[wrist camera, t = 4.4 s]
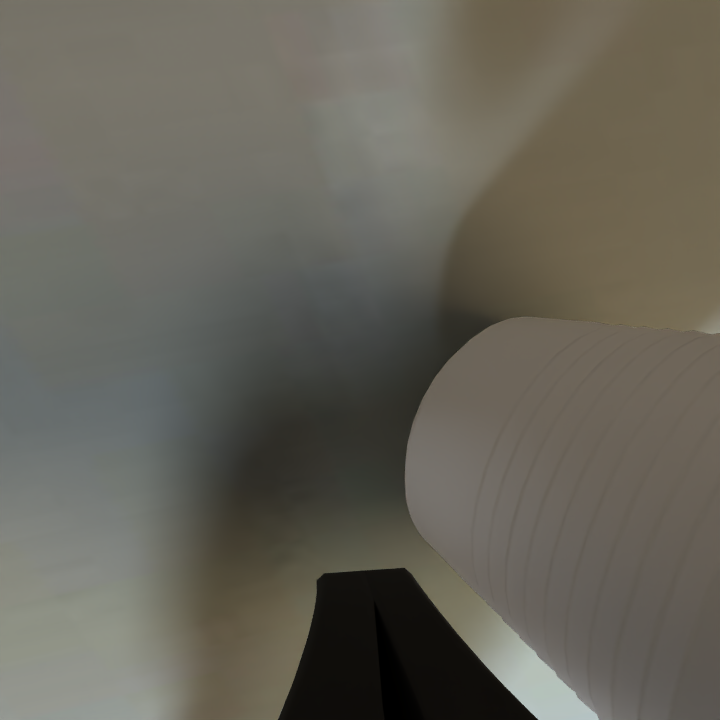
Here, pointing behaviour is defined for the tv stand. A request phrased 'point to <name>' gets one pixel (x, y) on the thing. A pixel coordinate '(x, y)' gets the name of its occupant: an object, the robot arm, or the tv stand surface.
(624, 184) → the tv stand surface
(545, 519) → the cup
